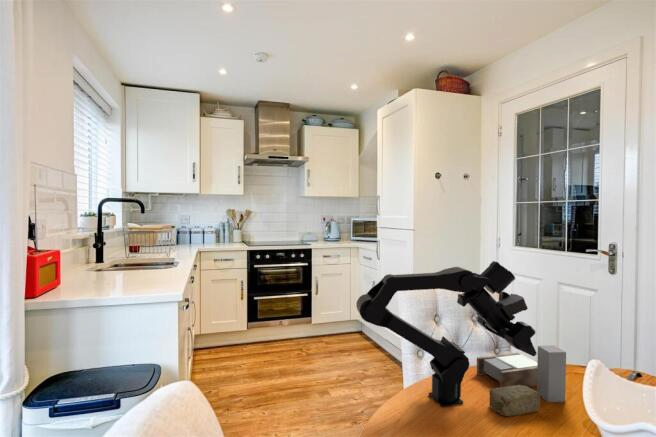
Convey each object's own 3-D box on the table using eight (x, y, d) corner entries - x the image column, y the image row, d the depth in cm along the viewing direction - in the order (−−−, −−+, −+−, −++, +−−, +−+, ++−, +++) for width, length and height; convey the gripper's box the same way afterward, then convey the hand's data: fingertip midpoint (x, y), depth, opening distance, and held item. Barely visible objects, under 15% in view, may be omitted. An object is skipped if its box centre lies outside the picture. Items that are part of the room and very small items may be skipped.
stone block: (541, 412, 89) (542, 392, 89) (503, 420, 86) (503, 399, 85) (523, 400, 94) (523, 381, 94) (486, 407, 91) (486, 387, 91)
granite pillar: (548, 402, 93) (549, 352, 93) (536, 393, 98) (537, 345, 98) (565, 401, 94) (566, 352, 93) (552, 392, 98) (554, 345, 98)
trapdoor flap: (501, 383, 101) (502, 369, 101) (482, 370, 108) (482, 358, 108) (542, 377, 104) (542, 364, 104) (520, 365, 112) (520, 354, 112)
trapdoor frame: (502, 390, 99) (502, 372, 99) (476, 373, 109) (476, 357, 109) (545, 384, 103) (546, 366, 103) (517, 368, 113) (517, 352, 113)
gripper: (529, 292, 85) (571, 339, 86) (489, 278, 104) (524, 316, 105) (495, 325, 85) (538, 371, 86) (461, 304, 104) (496, 343, 105)
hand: (523, 348), depth 95 cm, fingers open, 9 cm apart
